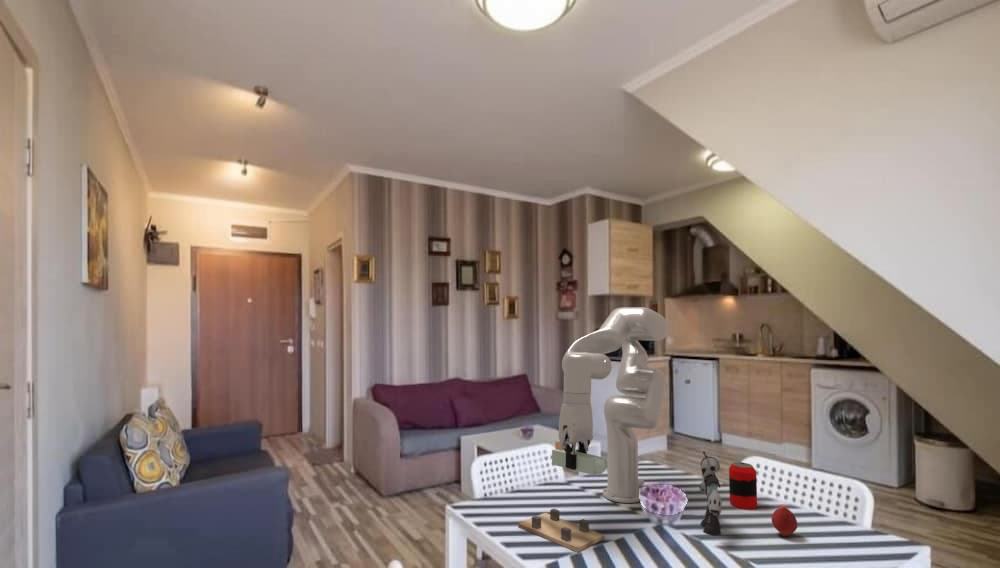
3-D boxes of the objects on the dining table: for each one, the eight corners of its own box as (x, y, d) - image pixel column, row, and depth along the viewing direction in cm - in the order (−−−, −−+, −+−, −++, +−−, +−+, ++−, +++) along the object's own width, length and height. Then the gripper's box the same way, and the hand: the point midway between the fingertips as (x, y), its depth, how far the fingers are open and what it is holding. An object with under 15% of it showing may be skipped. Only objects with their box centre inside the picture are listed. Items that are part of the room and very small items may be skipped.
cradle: (545, 516, 143) (545, 503, 143) (604, 538, 128) (604, 524, 128) (518, 526, 135) (518, 513, 135) (577, 552, 121) (577, 537, 121)
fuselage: (560, 462, 143) (560, 440, 143) (608, 474, 131) (608, 450, 132) (551, 464, 140) (551, 442, 141) (599, 476, 129) (599, 452, 129)
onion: (794, 533, 133) (793, 502, 133) (800, 542, 127) (799, 509, 128) (770, 530, 135) (769, 499, 135) (774, 538, 129) (773, 507, 130)
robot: (728, 546, 125) (726, 463, 126) (707, 543, 126) (705, 462, 127) (714, 516, 144) (712, 445, 145) (696, 514, 145) (695, 444, 146)
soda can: (758, 503, 154) (757, 463, 155) (755, 511, 148) (754, 470, 148) (731, 498, 158) (730, 460, 159) (728, 506, 152) (727, 465, 152)
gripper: (584, 395, 147) (583, 459, 145) (547, 399, 135) (545, 469, 133) (605, 398, 141) (605, 465, 139) (569, 402, 130) (568, 475, 128)
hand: (576, 466), depth 136 cm, fingers closed on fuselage, 4 cm apart
